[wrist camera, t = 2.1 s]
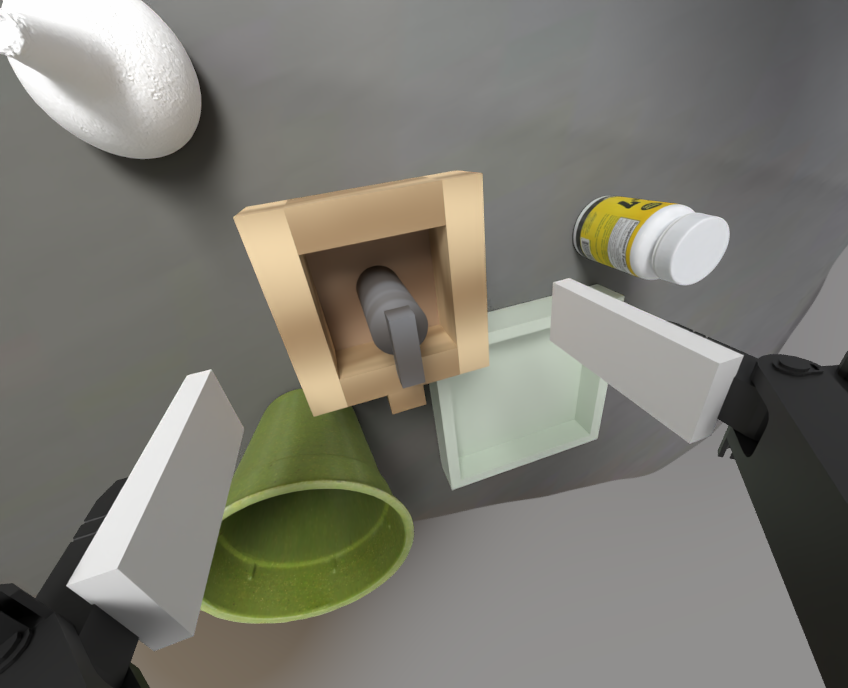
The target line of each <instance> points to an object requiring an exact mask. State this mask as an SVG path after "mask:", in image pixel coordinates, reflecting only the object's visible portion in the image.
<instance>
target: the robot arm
mask: <svg viewBox="0 0 848 688" xmlns="http://www.w3.org/2000/svg"><path fill="white" fill-rule="evenodd" d="M550 341H551V342H553V343H554V344H555V345H557V346H558V347H559V348H561V349H562V350H563V351H565V352H566V353H568V354H569V355H570V356H572V357H573V358H574V359H576V360H577V361H578V362H580V363H581V364H582V365H584V366H585V367H587V368H588V369H589V370H591V371H592V372H593V373H595V374H596V375H597V376H599V377H600V378H601V379H603V380H604V381H605V382H607V383H608V384H610V385H611V386H612V387H614V388H615V389H616V390H618V391H619V392H620V393H622V394H623V395H624V396H626V397H627V398H629V399H630V400H631V401H633V402H634V403H635V404H637V405H638V406H639V407H641V408H642V409H643V410H645V411H646V412H648V413H649V414H650V415H652V416H653V417H654V418H656V419H657V420H658V421H660V422H661V423H662V424H664V425H665V426H666V427H668V428H669V429H671V430H672V431H673V432H675V433H676V434H677V435H679V436H680V437H681V438H683V439H684V440H685V441H687V442H688V443H690V444H691V443H693V442H696V441H698V440H701V439H703V438H706V437H709V436H711V435H712V432H713V430H714V427H715V425H716V423H717V420H718V419H719V420H721V421H722V422H724V423H726V424H727V425H729V426H728V428H727V431H726V433H725V435H724V438H723V440H722V442H721V445H720V447H719V449H718V456H719V457H723V456H724V453H725V451H726V449H728V448H731V450H732V454H731V456H730V458H731V459H735V460H736V463H737V466H738V468H739V470H740V473H741V476H742V478H743V480H744V483H745V486H746V488H747V491H748V493H749V496H750V498H751V501H752V503H753V505H754V508H755V511H756V513H757V516H758V518H759V521H760V523H761V525H762V528H763V530H764V533H765V536H766V538H767V541H768V543H769V545H770V548H771V551H772V553H773V556H774V558H775V561H776V563H777V566H778V568H779V571H780V573H781V576H782V579H783V581H784V584H785V586H786V588H787V591H788V593H789V596H790V599H791V601H792V604H793V606H794V609H795V611H796V614H797V616H798V618H799V621H800V624H801V626H802V629H803V631H804V633H805V636H806V639H807V641H808V644H809V646H810V649H811V651H812V654H813V656H814V659H815V661H816V664H817V666H818V669H819V671H820V674H821V676H822V679H823V681H824V684H825V686H826V688H848V351H847V353H846V354H845V356H844V358H843V359H842V361H841V363H840V365H834V366H820V365H818V364H816V363H813V362H811V361H809V360H805V359H802V358H799V357H795V356H788V355H781V354H769V355H765V356H761V357H760V358H759V359H758V358H755V357H753V356H751V355H748V354H746V353H744V352H742V351H739V350H737V349H735V348H732V347H730V346H728V345H725V344H723V343H721V342H719V341H716V340H714V339H712V338H709V337H708V338H706V336H705V335H703V334H700V333H698V332H693V330H691V329H689V328H687V327H684V326H682V325H680V324H677V323H674V322H670V321H665V320H663V319H661V318H658V317H656V316H654V315H652V314H649V313H647V312H645V311H642V310H640V309H638V308H636V307H633V306H631V305H629V304H627V303H624V302H622V301H620V300H618V299H615V298H613V297H611V296H609V295H606V294H604V293H602V292H600V291H597V290H595V289H593V288H591V287H588V286H586V285H584V284H581V283H579V282H577V281H575V280H572V279H570V278H568V279H564V280H560V281H556V282H553V294H552V310H551V326H550ZM243 432H244V427H243V426H242V424H241V422H240V420H239V418H238V416H237V415H236V413H235V411H234V409H233V407H232V406H231V404H230V402H229V400H228V398H227V396H226V395H225V393H224V391H223V389H222V387H221V386H220V384H219V382H218V380H217V378H216V376H215V375H214V373H213V371H212V369H211V370H207V371H203V372H199V373H195V374H191V375H187V376H186V378H185V380H184V382H183V383H182V385H181V387H180V389H179V390H178V392H177V394H176V396H175V397H174V399H173V401H172V403H171V404H170V406H169V408H168V409H167V411H166V413H165V415H164V416H163V418H162V420H161V422H160V423H159V425H158V427H157V429H156V430H155V432H154V434H153V436H152V437H151V439H150V441H149V443H148V444H147V446H146V448H145V449H144V451H143V453H142V455H141V456H140V458H139V460H138V462H137V463H136V465H135V467H134V469H133V470H132V472H131V474H130V476H129V477H127V478H124V479H120V480H117V481H116V482H115V483H114V484H113V485H112V486H111V487H110V488H109V489H108V490H107V491H106V492H105V493H104V494H103V495H102V496H101V497H100V498H99V499H98V500H97V501H96V503H95V504H94V506H93V507H92V509H91V511H90V512H89V514H88V515H87V517H86V518H85V520H84V522H85V523H84V524H83V525H81V526H80V528H79V530H78V531H77V533H76V534H75V536H74V538H73V539H74V541H73V542H71V543H70V544H69V546H68V547H67V549H66V550H65V552H64V553H63V555H62V557H61V558H60V560H59V561H58V563H57V565H56V566H55V568H54V569H53V571H52V573H51V574H50V576H49V577H48V579H47V580H46V582H45V584H44V585H43V587H42V588H41V590H40V592H39V593H38V595H37V597H36V598H34V597H32V596H31V595H29V594H28V593H26V592H25V591H23V590H22V589H20V588H19V587H17V586H16V585H14V584H13V583H11V584H0V688H150V687H149V685H148V684H147V682H146V680H145V678H144V677H143V675H142V673H141V671H140V670H139V668H138V667H136V666H135V665H133V664H132V663H131V659H132V656H133V653H134V651H135V648H136V645H137V642H138V640H140V641H141V642H142V643H144V644H145V645H146V646H148V647H149V648H151V649H152V650H153V651H156V650H159V649H161V648H164V647H166V646H169V645H171V644H174V643H177V642H179V641H182V640H184V639H187V638H190V637H192V636H194V632H195V628H196V624H197V620H198V616H199V612H200V608H201V604H202V600H203V596H204V591H205V587H206V583H207V579H208V575H209V571H210V567H211V563H212V559H213V555H214V551H215V546H216V542H217V538H218V534H219V530H220V526H221V522H222V518H223V514H224V510H225V506H226V501H227V497H228V493H229V489H230V485H231V481H232V477H233V473H234V469H235V465H236V461H237V456H238V452H239V448H240V444H241V440H242V436H243Z"/></svg>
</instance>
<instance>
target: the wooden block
mask: <svg viewBox="0 0 848 688" xmlns="http://www.w3.org/2000/svg"><path fill="white" fill-rule="evenodd" d="M305 257H306V260H307V263H308V266H309V269H310V272H311V276H312V279H313V282H314V285H315V288H316V291H317V295H318V298H319V301H320V304H321V307H322V310H323V313H324V317H325V320H326V323H327V326H328V329H329V332H330V336H331V339H332V342H333V345H334V348H335V351H338V350H342V349H346V348H350V347H354V346H357V345H361V344H365V343H369V342H373V341H374V343H375V345H376V346H377V347H378V348H379V349H380V350H381V351H383V352H385V353H387V354H391V355H393V356H394V360H395V365H396V370H397V375H398V378H399V380H400V383H401V385H402V388H403V389H404V388H407V387H411V386H414V385H418V384H421V383H425V375H424V369H423V363H422V357H421V351H420V345H421V344H422V342H423V341H424V339H425V337H426V335H427V332H428V327H431V326H435V325H439V324H440V322H439V313H438V305H437V297H436V289H435V280H434V272H433V264H432V255H431V247H430V239H429V230H428V229H425V230H420V231H415V232H410V233H405V234H400V235H395V236H390V237H385V238H380V239H376V240H371V241H366V242H361V243H356V244H351V245H346V246H341V247H336V248H331V249H326V250H321V251H317V252H312V253H307V254H305Z"/></svg>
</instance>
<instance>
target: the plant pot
mask: <svg viewBox="0 0 848 688" xmlns="http://www.w3.org/2000/svg"><path fill="white" fill-rule="evenodd" d="M413 539H414V525H413V521H412V518H411V515H410V513H409V512H408V510H407V509H406V507H405V506H404V505H403V504H402V503H401V502H400V501H399V500H398V499H397V498H396V497H395V496H393V495H392V493H391V490H390V488H389V486H388V484H387V482H386V481H385V479H384V478H383V477H382V476H381V475H380V472H379V470H378V468H377V465H376V463H375V460H374V458H373V455H372V453H371V450H370V448H369V446H368V443H367V441H366V439H365V436H364V434H363V431H362V429H361V426H360V424H359V422H358V419H357V417H356V414H355V412H354V410H353V408H352V406H349V407H346V408H342V409H339V410H335V411H332V412H329V413H325V414H322V415H318V416H315V417H314V416H313V414H312V411H311V409H310V406H309V404H308V402H307V399H306V397H305V394H304V392H303V389H296V390H293V391H290V392H288V393H286V394H283V395H281V396H280V397H278V398H277V399H275V400H274V401H273V402H272V403H271V404H270V405H269V406H268V408H267V409H266V411H265V412H264V414H263V416H262V418H261V420H260V422H259V424H258V426H257V428H256V430H255V432H254V435H253V437H252V439H251V441H250V443H249V445H248V447H247V449H246V451H245V453H244V455H243V458H242V460H241V462H240V464H239V466H238V468H237V470H236V472H235V474H234V476H233V478H232V481H231V485H230V489H229V493H228V497H227V501H226V506H225V510H224V514H223V518H222V522H221V526H220V530H219V534H218V538H217V542H216V546H215V551H214V555H213V559H212V563H211V567H210V571H209V575H208V579H207V583H206V587H205V591H204V596H203V600H202V604H201V608H200V610H202V611H205V612H207V613H209V614H211V615H213V616H215V617H218V618H222V619H225V620H230V621H235V622H243V623H280V622H281V623H282V622H288V621H294V620H299V619H306V618H309V617H313V616H318V615H321V614H325V613H328V612H330V611H333V610H335V609H338V608H340V607H342V606H345V605H348V604H350V603H352V602H354V601H356V600H358V599H360V598H362V597H363V596H365V595H367V594H368V593H370V592H371V591H373V590H374V589H376V588H377V587H379V586H380V585H381V584H383V583H384V582H385V581H387V580H388V579H389V578H390V577H391V576H392V575H393V574H394V573H395V572H396V571H397V570H398V568H399V567H400V566H401V565H402V564H403V562H404V561H405V559H406V557H407V556H408V554H409V551H410V548H411V546H412V543H413Z"/></svg>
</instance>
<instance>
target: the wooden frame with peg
mask: <svg viewBox="0 0 848 688" xmlns="http://www.w3.org/2000/svg"><path fill="white" fill-rule="evenodd" d="M233 218H234V221H235V223H236V226H237V228H238V231H239V233H240V236H241V238H242V241H243V243H244V246H245V248H246V251H247V253H248V256H249V258H250V261H251V263H252V265H253V268H254V270H255V273H256V275H257V278H258V280H259V283H260V285H261V288H262V290H263V293H264V295H265V298H266V300H267V303H268V305H269V308H270V310H271V312H272V315H273V317H274V320H275V322H276V325H277V327H278V330H279V332H280V335H281V337H282V340H283V342H284V345H285V347H286V350H287V352H288V355H289V357H290V359H291V362H292V364H293V367H294V369H295V372H296V374H297V377H298V379H299V382H300V384H301V387H302V389H303V392H304V394H305V397H306V399H307V402H308V404H309V406H310V409H311V411H312V414H313V416H314V417H315V416H318V415H322V414H325V413H329V412H332V411H335V410H339V409H342V408H346V407H349V406H353V405H356V404H360V403H363V402H367V401H370V400H373V399H377V398H380V397H384V396H387V398H388V401H389V405H390V408H391V411H392V414H396V413H399V412H402V411H406V410H409V409H412V408H416V407H419V406H422V405H426V399H425V393H424V388H423V385H425V384H429V383H432V382H436V381H439V380H443V379H446V378H450V377H453V376H456V375H460V374H463V373H467V372H470V371H474V370H477V369H481V368H484V367H488V366H489V342H488V315H487V288H486V260H485V233H484V206H483V179H482V173H477V172H467V171H457V170H456V171H451V172H445V173H439V174H433V175H428V176H422V177H416V178H410V179H405V180H399V181H393V182H387V183H382V184H376V185H370V186H364V187H359V188H353V189H347V190H341V191H336V192H330V193H324V194H318V195H313V196H307V197H301V198H295V199H290V200H284V201H278V202H272V203H267V204H261V205H255V206H249V207H246V208H244V209H243V210H242V211H240V212H239V213H238V214H237V215H235V216H234V217H233ZM425 229H428V230H429V239H430V247H431V255H432V264H433V272H434V280H435V289H436V297H437V305H438V313H439V322H440V324H439V325H435V326H431V327H428V332H427V335H426V337H425V339H424V341H423V342H422V344H421V345H420V351H421V357H422V363H423V369H424V375H425V383H421V384H418V385H414V386H411V387H407V388H404V389H403V388H402V385H401V383H400V380H399V378H398V375H397V370H396V365H395V360H394V356H393V355H391V354H387V353H385V352H383V351H381V350H380V349H379V348H378V347H377V346H376V345H375V343H374V341H373V342H369V343H365V344H361V345H357V346H354V347H350V348H346V349H342V350H338V351H335V348H334V345H333V342H332V339H331V336H330V332H329V329H328V326H327V323H326V320H325V317H324V313H323V310H322V307H321V304H320V301H319V298H318V295H317V291H316V288H315V285H314V282H313V279H312V276H311V272H310V269H309V266H308V263H307V260H306V257H305V254H307V253H312V252H317V251H321V250H326V249H331V248H336V247H341V246H346V245H351V244H356V243H361V242H366V241H371V240H376V239H380V238H385V237H390V236H395V235H400V234H405V233H410V232H415V231H420V230H425Z"/></svg>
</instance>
